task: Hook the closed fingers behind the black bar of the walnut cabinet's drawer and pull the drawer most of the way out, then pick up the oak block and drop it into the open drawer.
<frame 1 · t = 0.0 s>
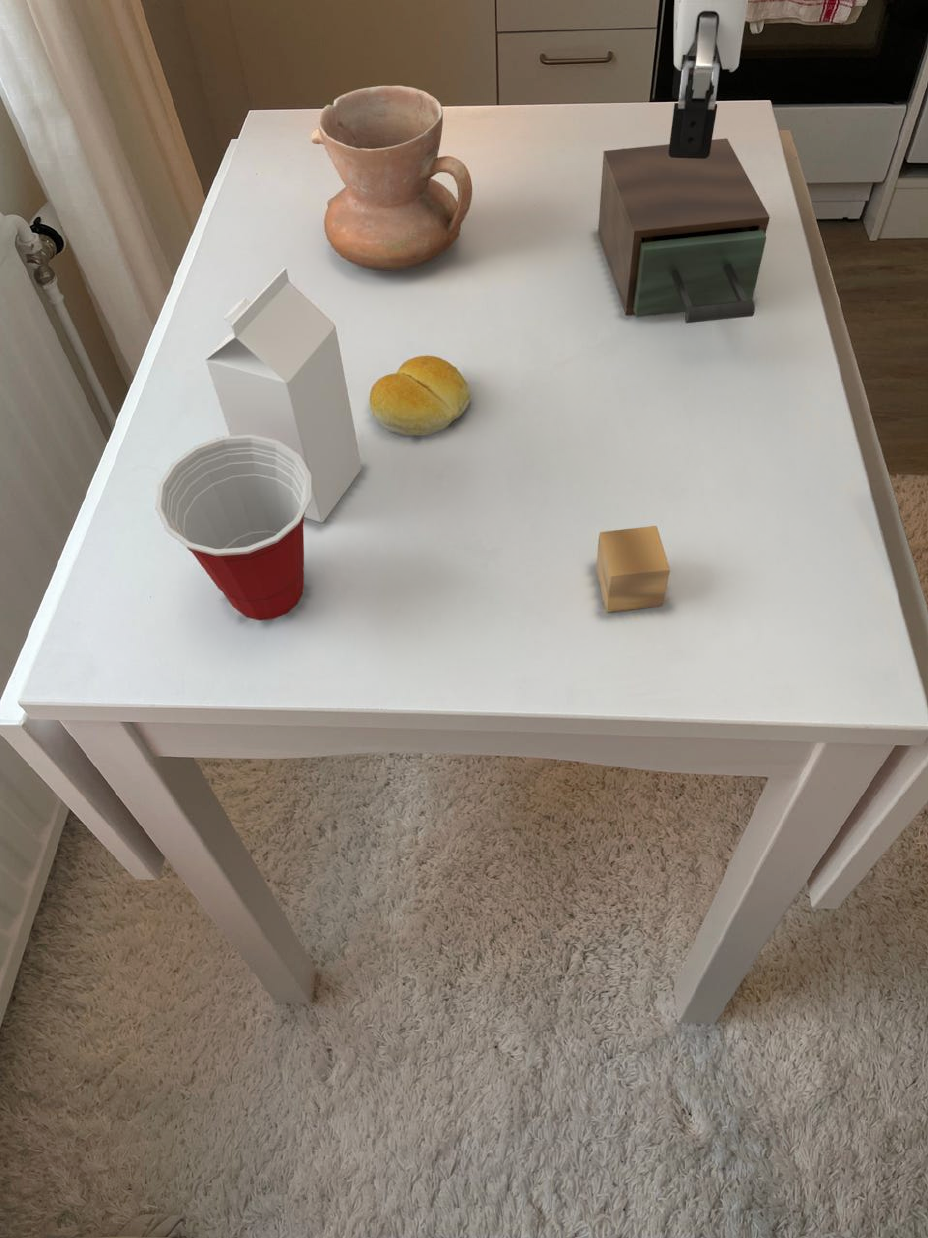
hand: (689, 125, 79), 19 cm above the table, tool pointing down, fingers open, 9 cm apart
bread roll: (421, 408, 88), on the table
block: (628, 587, 74), on the table
plastic cup: (270, 595, 76), on the table
milk carton: (308, 486, 83), on the table
cabinet: (671, 266, 99), on the table
drawer: (691, 259, 92), point 5 cm above the table, slide at 0.5 cm
ceramic jug: (400, 249, 103), on the table
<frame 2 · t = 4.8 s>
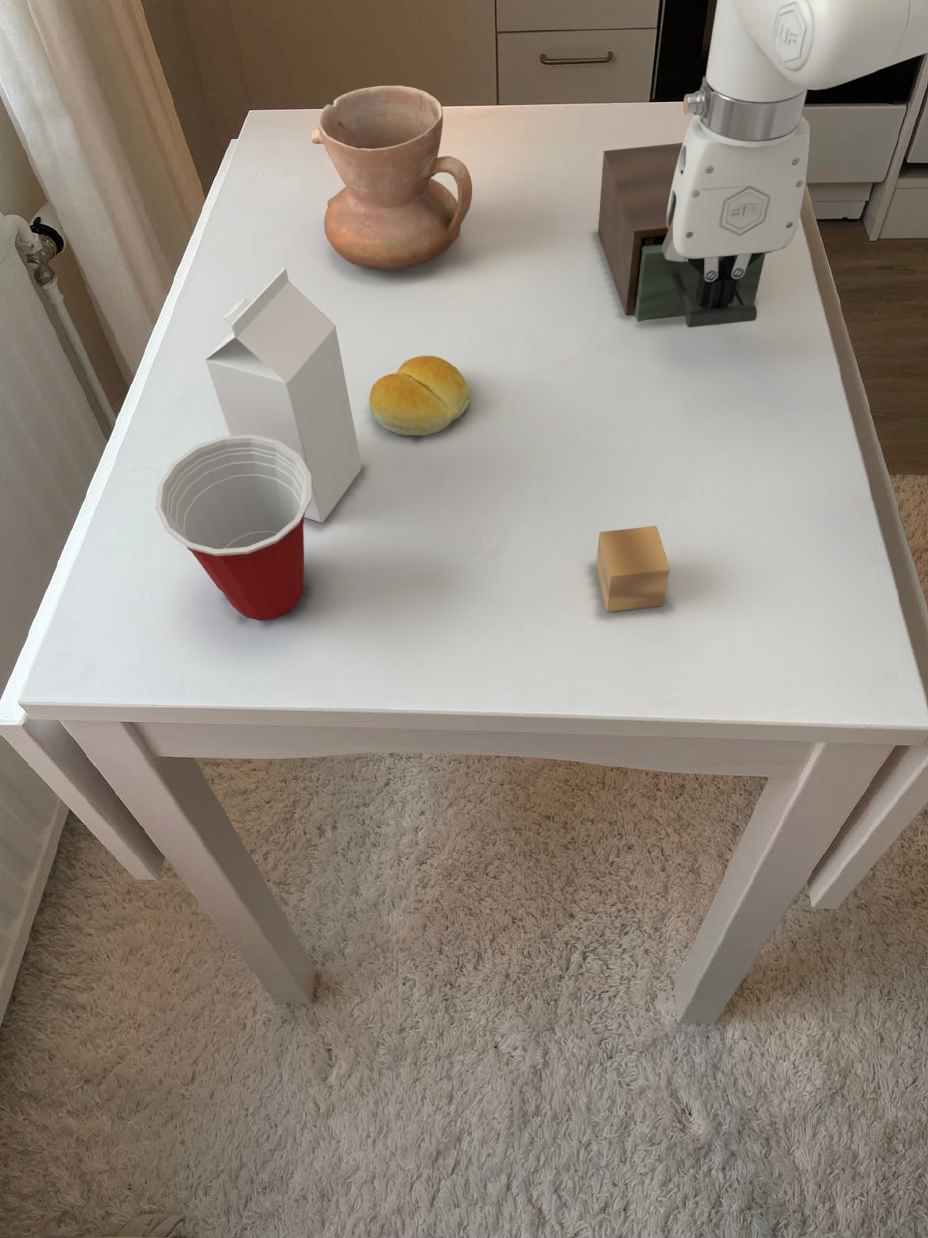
hand: (712, 309, 87), 5 cm above the table, tool pointing down, fingers closed
drawer: (692, 262, 91), point 5 cm above the table, slide at 1.1 cm, touching gripper
everything else where it was.
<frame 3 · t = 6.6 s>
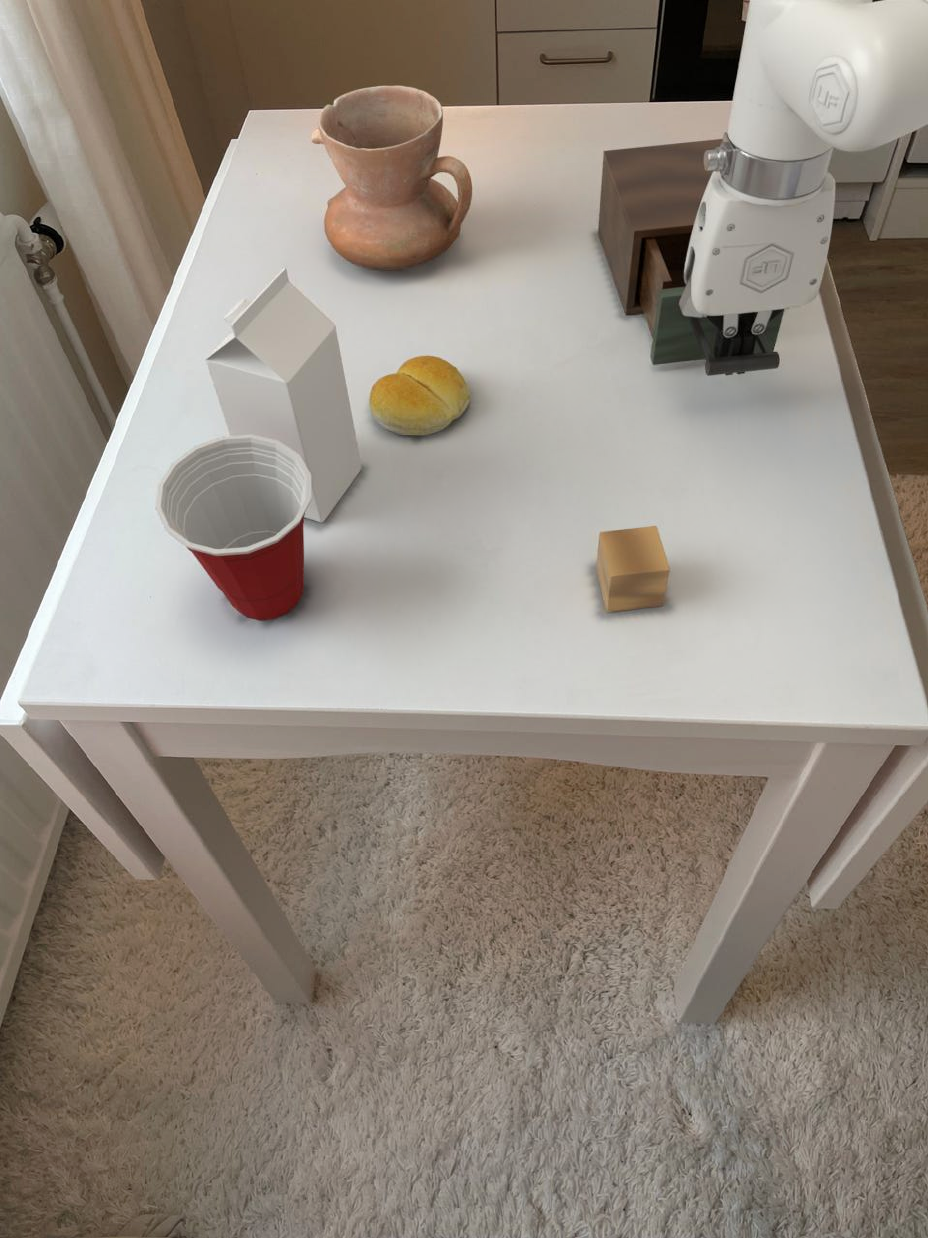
hand: (730, 364, 84), 4 cm above the table, tool pointing down, fingers closed
drawer: (710, 304, 87), point 5 cm above the table, slide at 7.8 cm, touching gripper
everything else where it was.
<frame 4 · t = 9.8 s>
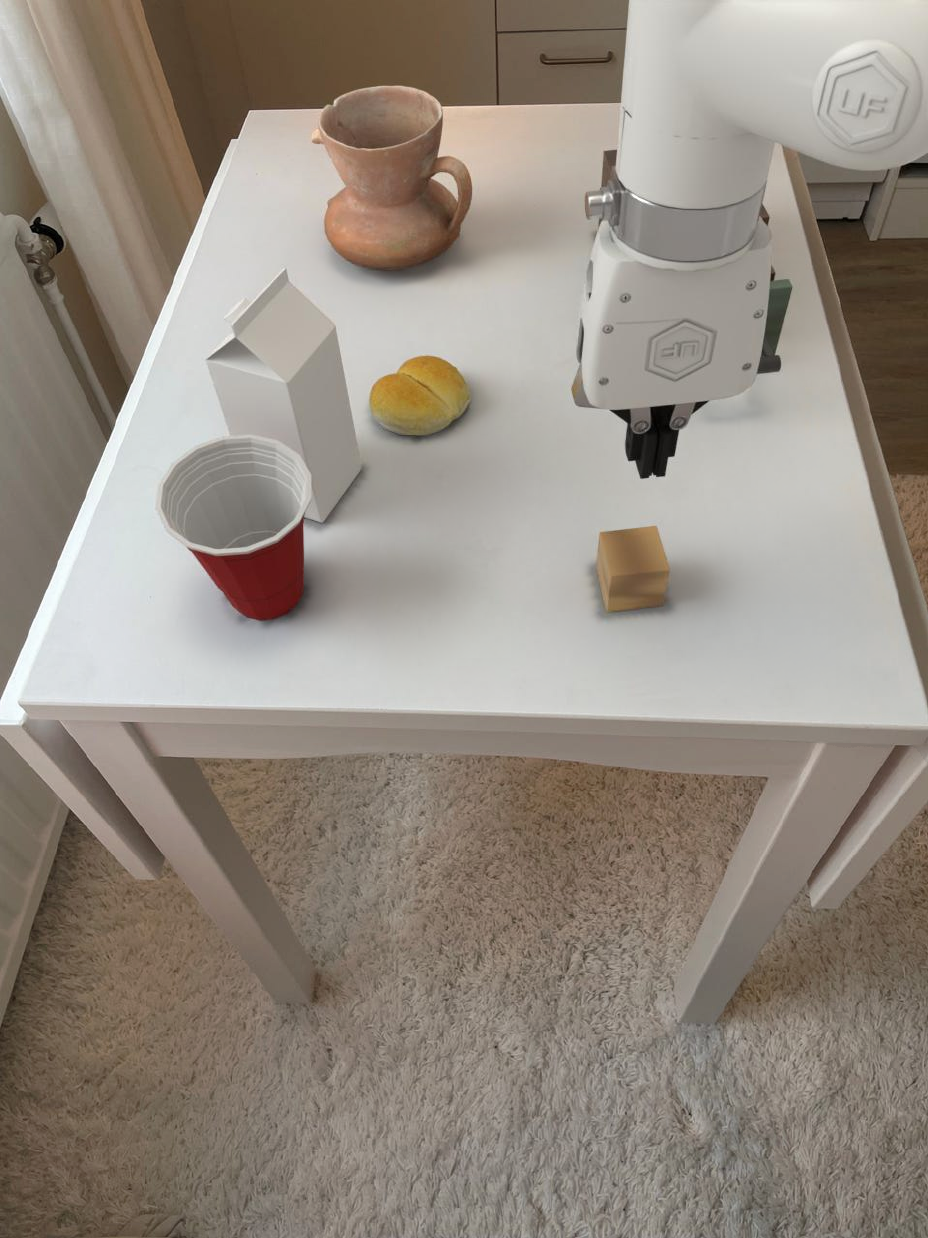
hand: (647, 462, 64), 13 cm above the table, tool pointing down, fingers closed
drawer: (712, 307, 87), point 5 cm above the table, slide at 8.2 cm
everything else where it was.
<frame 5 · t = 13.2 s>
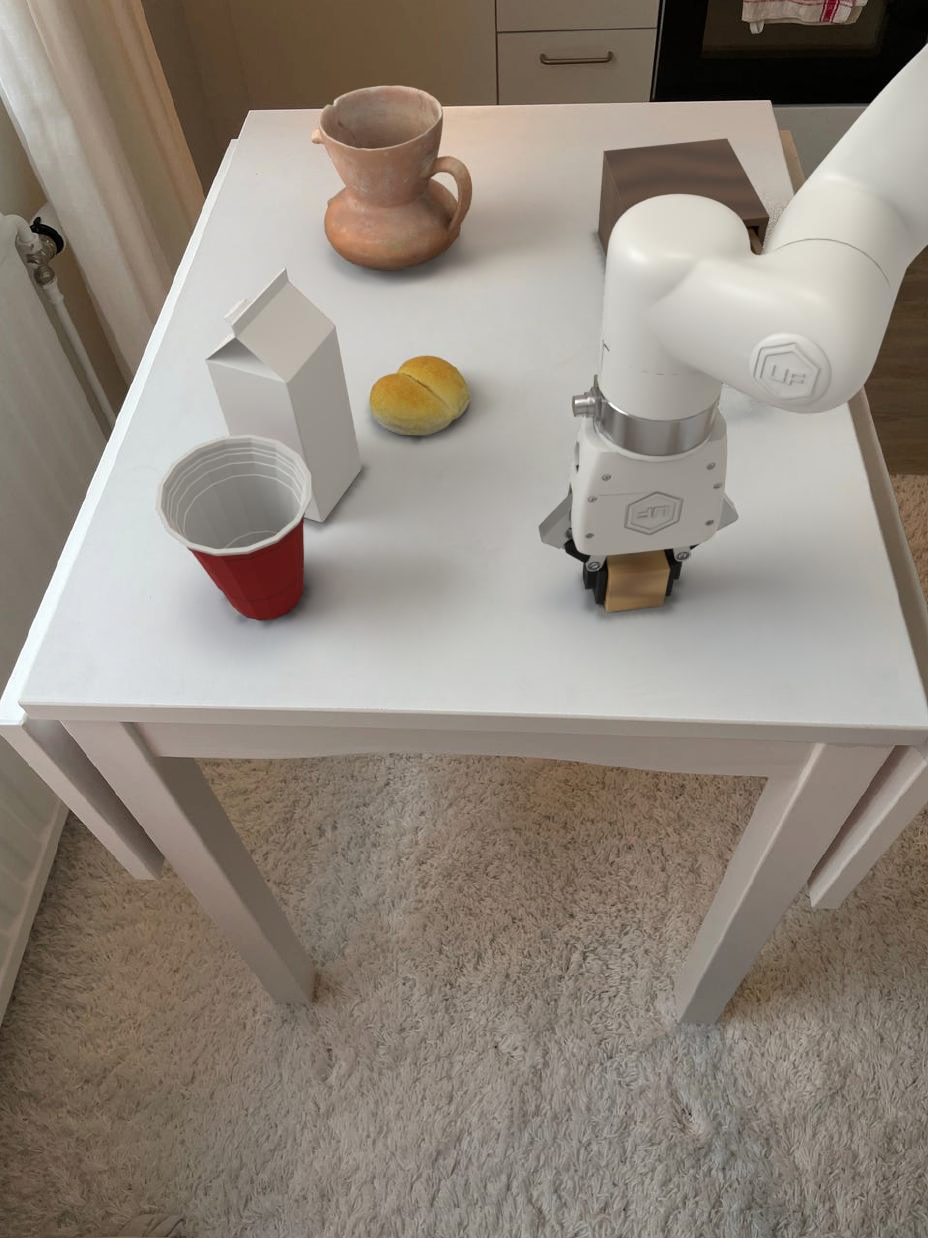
hand: (629, 584, 74), 0 cm above the table, tool pointing down, fingers closed on block, 4 cm apart
block: (628, 587, 74), on the table, touching gripper
everything else where it was.
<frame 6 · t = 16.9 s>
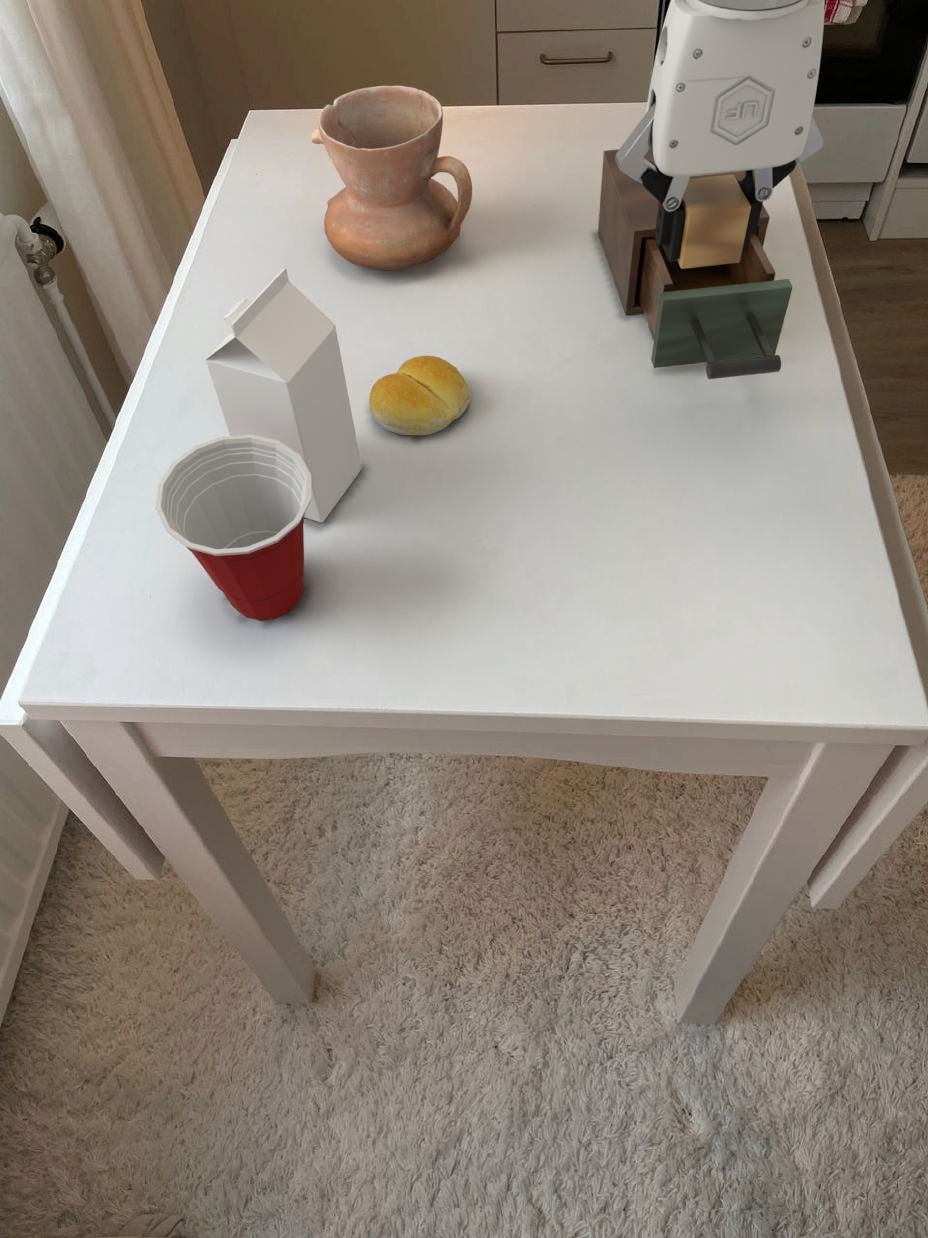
hand: (703, 244, 71), 17 cm above the table, tool pointing down, fingers closed on block, 4 cm apart
block: (702, 249, 71), point 17 cm above the table, touching gripper
everything else where it was.
when the fingers open (8 cm above the table, at t = 20.8 s): block drops 6 cm, resting on drawer.
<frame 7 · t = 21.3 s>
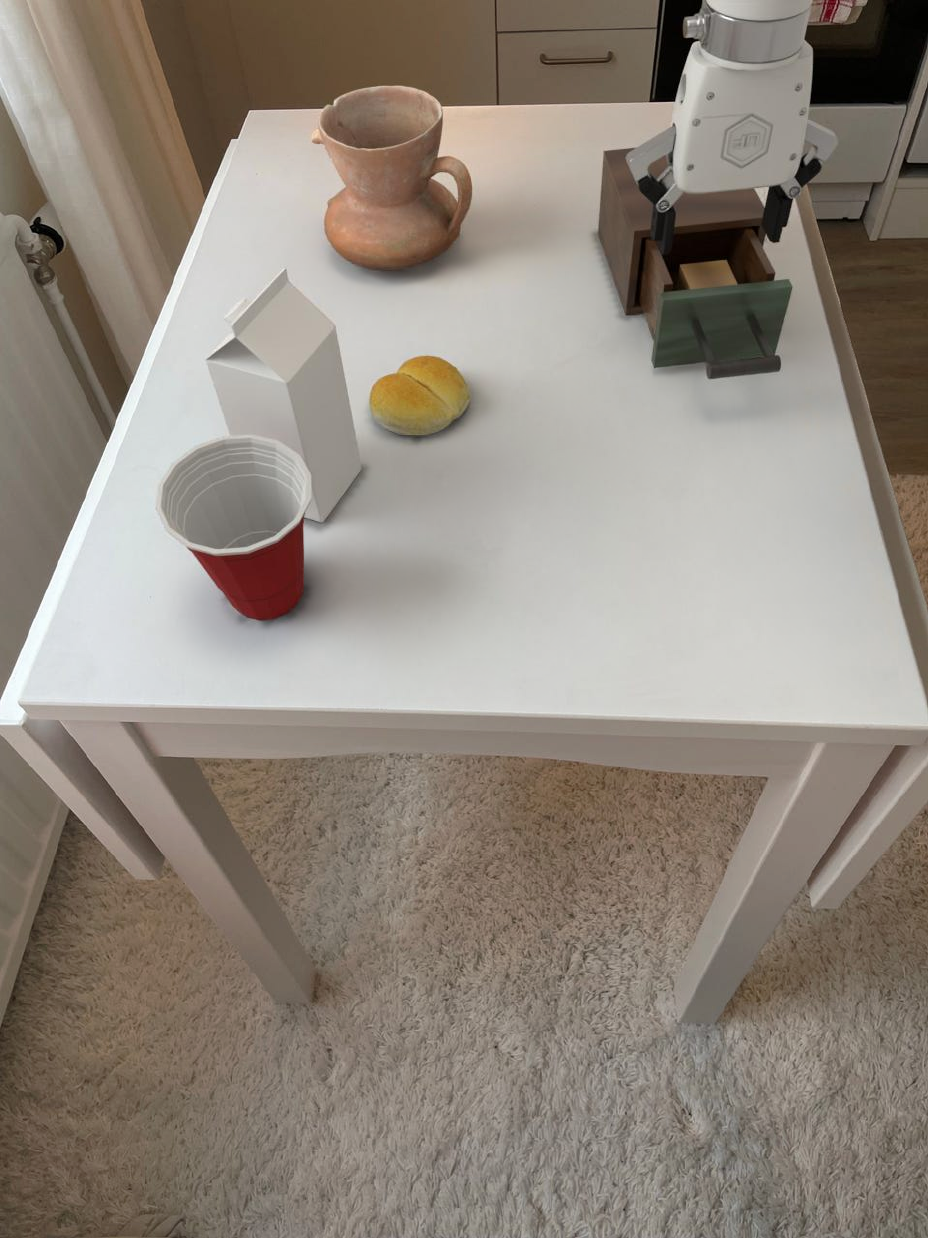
hand: (716, 239, 84), 10 cm above the table, tool pointing down, fingers open, 9 cm apart
block: (701, 316, 91), point 2 cm above the table, touching drawer
drawer: (712, 307, 87), point 5 cm above the table, slide at 8.2 cm, touching block
everything else where it was.
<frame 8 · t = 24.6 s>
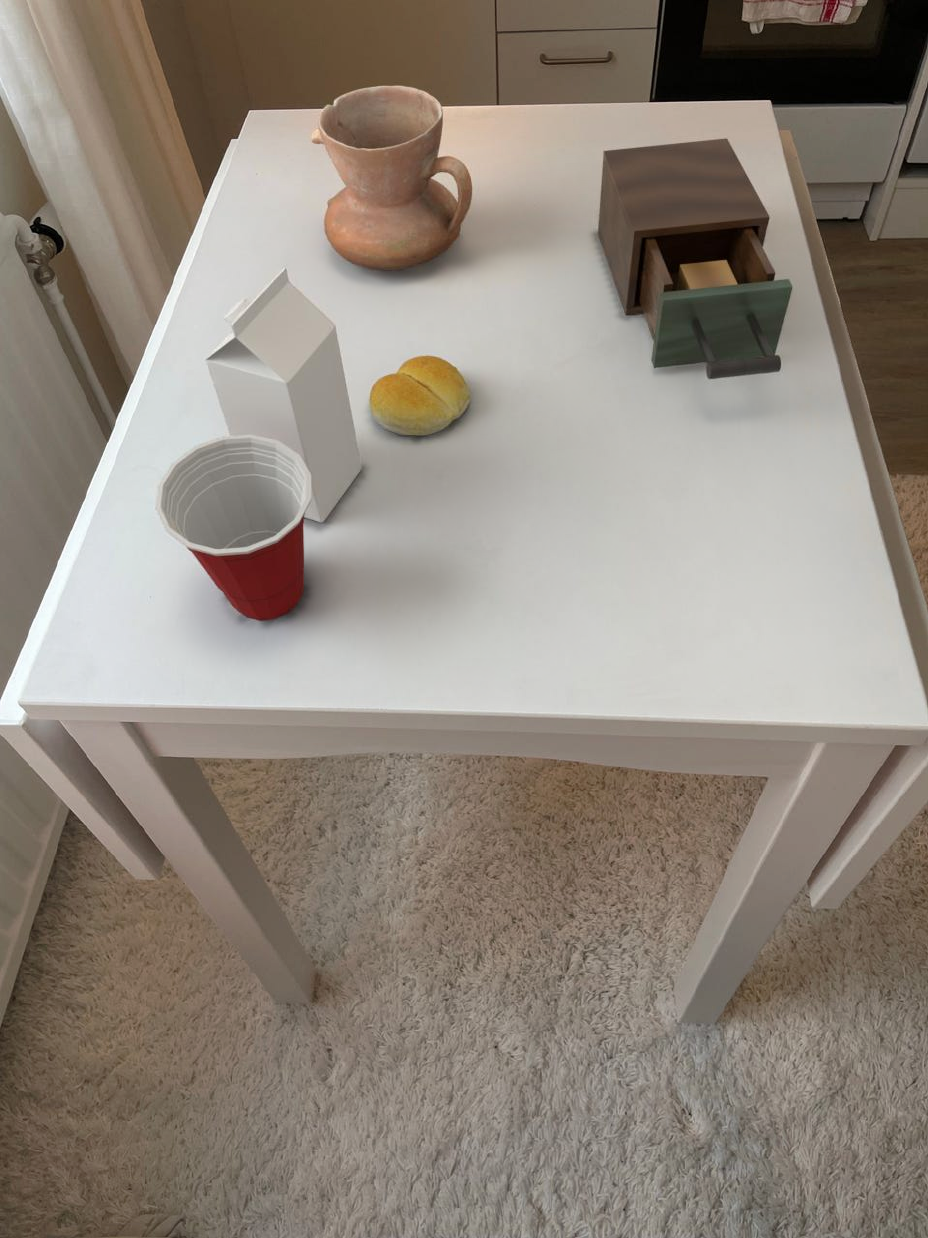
nothing on the table moved.
at the end: drawer slide at 8.2 cm; block inside the target area in the cabinet (6.2 cm from its centre), point 2.0 cm above the cabinet's base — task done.
